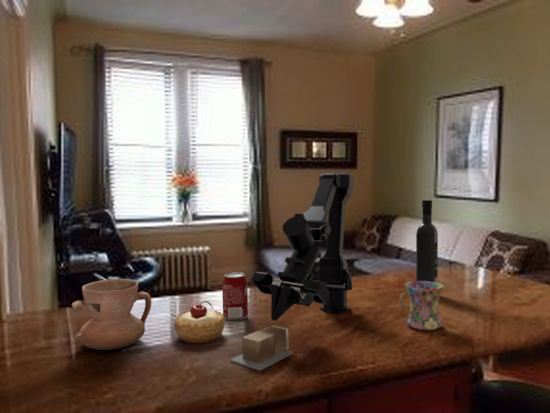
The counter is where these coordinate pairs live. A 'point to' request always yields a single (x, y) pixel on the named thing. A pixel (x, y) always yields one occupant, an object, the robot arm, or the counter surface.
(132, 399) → the counter surface
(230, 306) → the soda can
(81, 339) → the ceramic jug
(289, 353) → the mat
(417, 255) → the wine bottle
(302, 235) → the robot arm
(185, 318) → the pastry
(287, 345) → the block
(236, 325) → the counter surface
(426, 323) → the mug
